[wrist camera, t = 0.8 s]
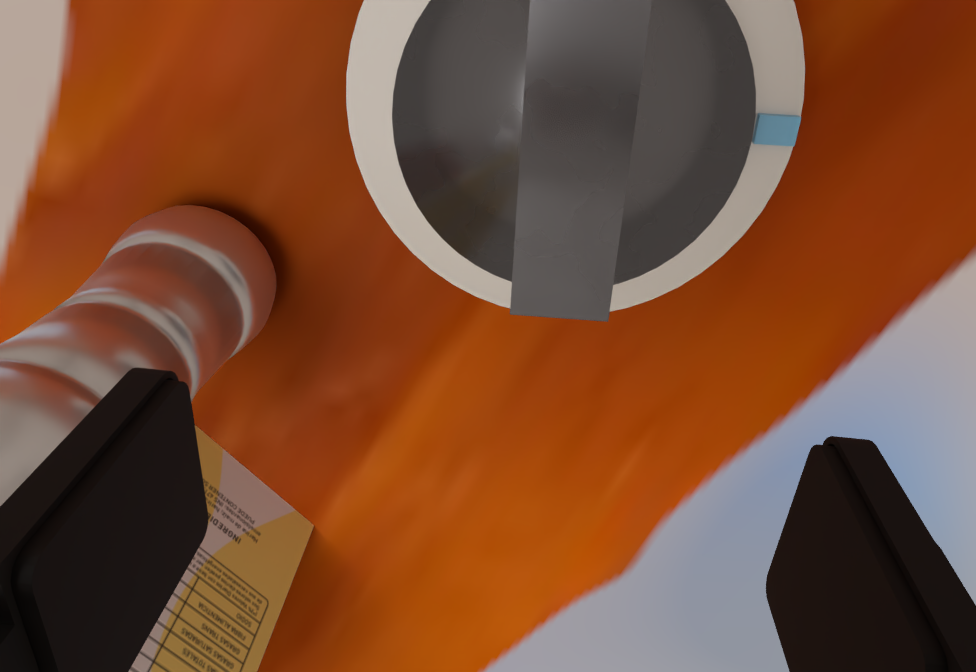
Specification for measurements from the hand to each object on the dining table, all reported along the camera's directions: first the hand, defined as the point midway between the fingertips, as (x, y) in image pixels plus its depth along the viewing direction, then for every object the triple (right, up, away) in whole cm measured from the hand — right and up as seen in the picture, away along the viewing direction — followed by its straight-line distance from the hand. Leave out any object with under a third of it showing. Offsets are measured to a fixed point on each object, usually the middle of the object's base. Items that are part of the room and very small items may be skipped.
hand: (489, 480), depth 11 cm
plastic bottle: (-12, +6, +23) cm, 26 cm away
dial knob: (+3, +10, +15) cm, 18 cm away
